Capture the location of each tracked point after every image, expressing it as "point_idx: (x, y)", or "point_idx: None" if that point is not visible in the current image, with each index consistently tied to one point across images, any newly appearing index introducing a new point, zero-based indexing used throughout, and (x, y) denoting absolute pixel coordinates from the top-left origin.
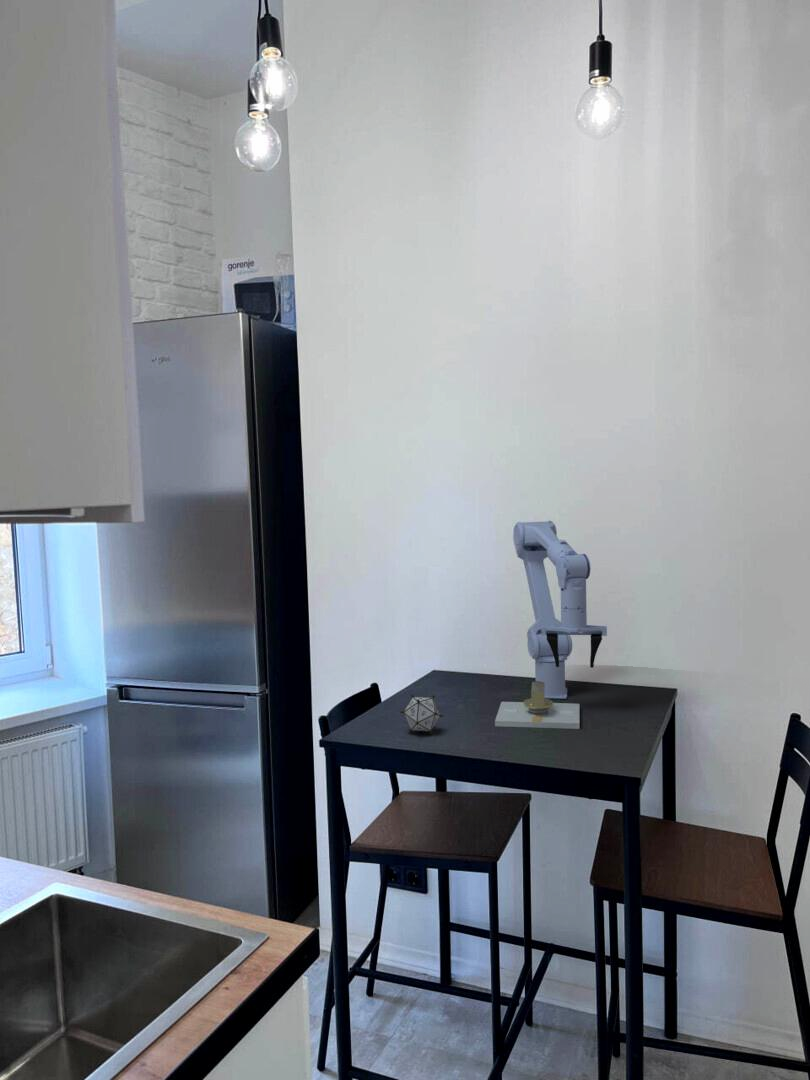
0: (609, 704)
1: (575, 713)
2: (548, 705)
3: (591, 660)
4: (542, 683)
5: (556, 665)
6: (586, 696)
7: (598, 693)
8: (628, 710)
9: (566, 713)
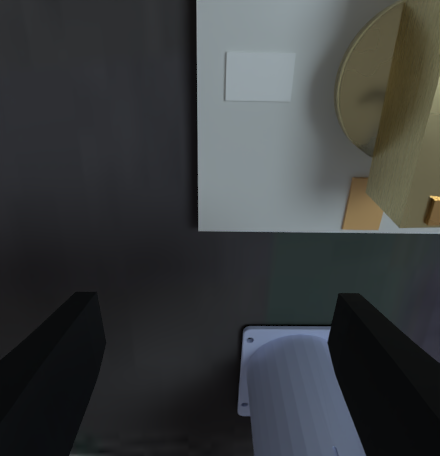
0: (92, 283)
1: (216, 66)
2: (373, 22)
3: (62, 325)
4: (423, 187)
5: (363, 298)
6: (177, 358)
7: (141, 387)
8: (9, 216)
9: (261, 52)
